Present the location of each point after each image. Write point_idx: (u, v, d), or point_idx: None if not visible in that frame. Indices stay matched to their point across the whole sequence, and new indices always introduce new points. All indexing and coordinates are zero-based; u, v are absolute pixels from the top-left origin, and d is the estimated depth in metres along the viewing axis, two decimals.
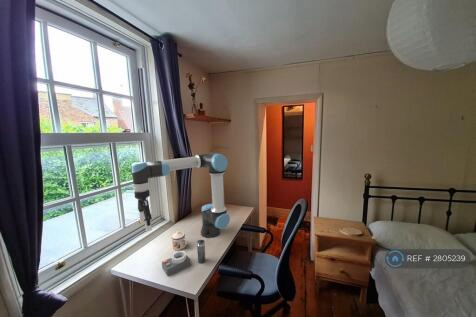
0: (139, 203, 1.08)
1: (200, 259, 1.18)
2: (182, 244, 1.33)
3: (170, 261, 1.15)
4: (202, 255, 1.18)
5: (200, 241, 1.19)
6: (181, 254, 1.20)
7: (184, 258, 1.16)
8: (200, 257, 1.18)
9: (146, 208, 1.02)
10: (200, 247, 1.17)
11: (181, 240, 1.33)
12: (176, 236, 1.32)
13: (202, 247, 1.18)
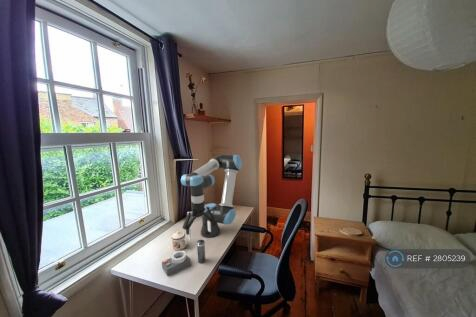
0: None
1: (200, 259, 1.18)
2: (182, 244, 1.33)
3: (170, 261, 1.15)
4: (202, 255, 1.18)
5: (200, 241, 1.19)
6: (181, 254, 1.20)
7: (184, 258, 1.16)
8: (200, 257, 1.18)
9: (186, 218, 1.12)
10: (200, 247, 1.17)
11: (181, 240, 1.33)
12: (176, 236, 1.32)
13: (202, 247, 1.18)
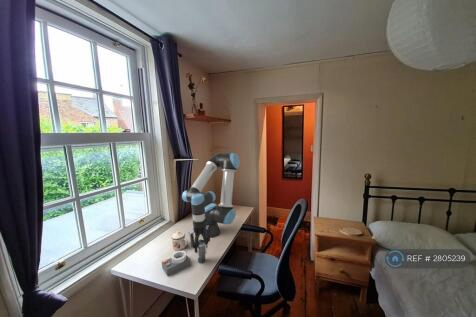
0: None
1: (200, 259, 1.18)
2: (182, 244, 1.33)
3: (170, 261, 1.15)
4: (202, 255, 1.18)
5: (200, 241, 1.19)
6: (181, 254, 1.20)
7: (184, 258, 1.16)
8: (200, 257, 1.18)
9: (190, 238, 1.15)
10: (200, 247, 1.17)
11: (181, 240, 1.33)
12: (176, 236, 1.32)
13: (202, 247, 1.18)
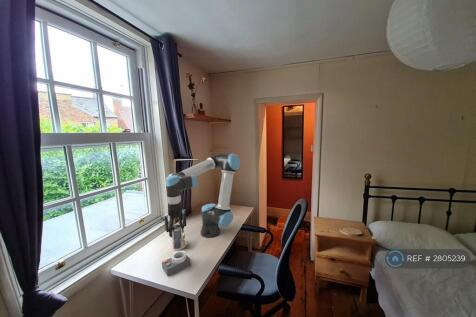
0: None
1: (175, 244, 1.13)
2: (182, 244, 1.33)
3: (170, 261, 1.15)
4: (177, 240, 1.13)
5: (175, 226, 1.14)
6: (181, 254, 1.20)
7: (184, 258, 1.16)
8: (175, 242, 1.13)
9: (165, 221, 1.10)
10: (175, 232, 1.12)
11: (181, 240, 1.33)
12: None
13: (177, 232, 1.13)
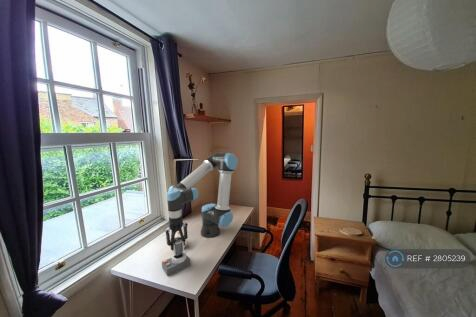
0: None
1: (177, 257, 1.15)
2: None
3: (170, 261, 1.15)
4: (179, 253, 1.15)
5: (177, 238, 1.15)
6: None
7: (184, 258, 1.16)
8: (177, 255, 1.15)
9: (166, 235, 1.11)
10: (176, 245, 1.14)
11: None
12: (176, 236, 1.32)
13: (179, 245, 1.14)
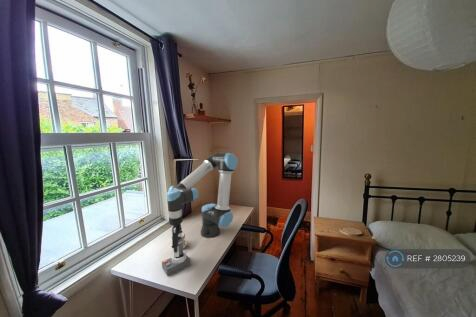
0: None
1: (180, 256, 1.15)
2: None
3: (170, 261, 1.15)
4: (182, 251, 1.16)
5: (178, 238, 1.16)
6: None
7: (184, 258, 1.16)
8: (181, 254, 1.15)
9: (173, 236, 1.07)
10: (180, 243, 1.15)
11: None
12: None
13: (182, 243, 1.16)
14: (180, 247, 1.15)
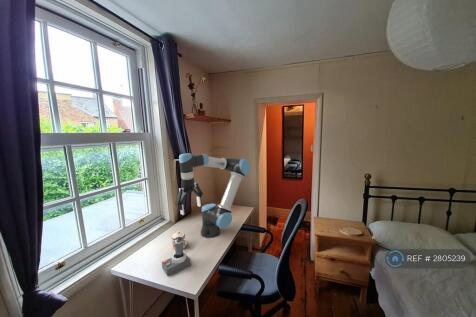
0: None
1: (181, 256, 1.15)
2: None
3: (170, 261, 1.15)
4: (182, 251, 1.16)
5: (178, 238, 1.16)
6: None
7: (184, 258, 1.16)
8: (181, 254, 1.15)
9: (178, 194, 1.17)
10: (181, 243, 1.15)
11: None
12: (176, 236, 1.32)
13: (182, 243, 1.16)
14: (180, 247, 1.15)
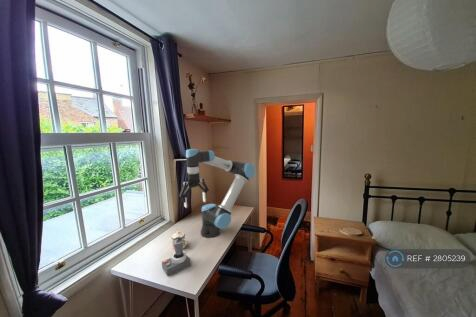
0: None
1: (180, 256, 1.15)
2: None
3: (170, 261, 1.15)
4: (182, 251, 1.16)
5: (177, 238, 1.15)
6: None
7: (184, 258, 1.16)
8: (181, 254, 1.15)
9: (182, 187, 1.22)
10: (180, 244, 1.14)
11: None
12: (176, 236, 1.32)
13: (181, 243, 1.15)
14: (180, 247, 1.14)
